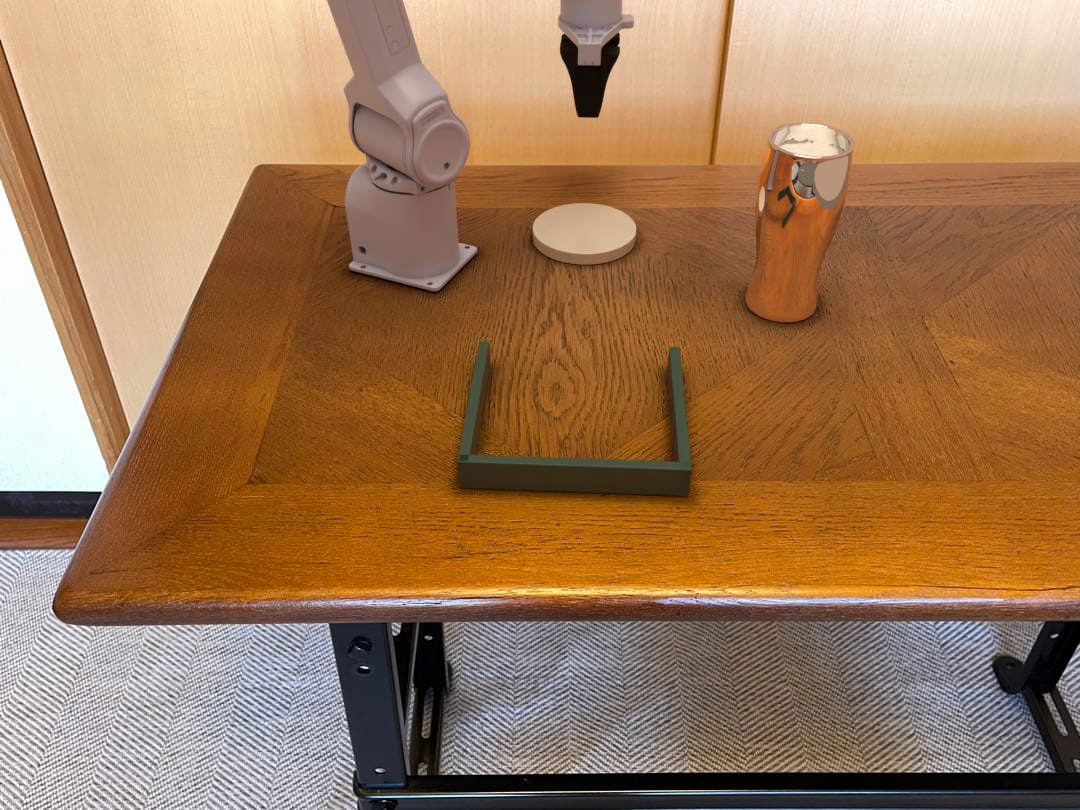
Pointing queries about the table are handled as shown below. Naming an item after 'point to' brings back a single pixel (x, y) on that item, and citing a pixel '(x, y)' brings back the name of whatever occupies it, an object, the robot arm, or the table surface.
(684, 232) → the table surface
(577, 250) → the plate
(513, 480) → the green u-shaped bracket
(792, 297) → the beer glass
